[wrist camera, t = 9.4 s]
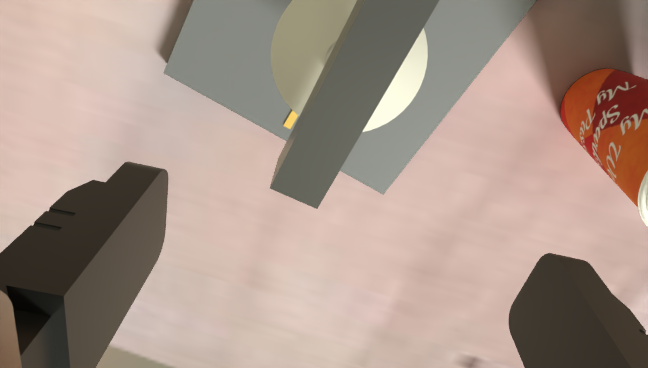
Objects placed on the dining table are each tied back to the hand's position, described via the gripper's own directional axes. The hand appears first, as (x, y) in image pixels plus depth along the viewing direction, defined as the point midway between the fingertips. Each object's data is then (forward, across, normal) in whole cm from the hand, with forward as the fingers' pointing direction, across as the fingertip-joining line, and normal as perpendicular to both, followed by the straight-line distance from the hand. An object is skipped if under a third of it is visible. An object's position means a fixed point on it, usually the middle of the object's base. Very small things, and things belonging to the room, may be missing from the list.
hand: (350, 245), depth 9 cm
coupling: (+18, 0, 0) cm, 18 cm away
